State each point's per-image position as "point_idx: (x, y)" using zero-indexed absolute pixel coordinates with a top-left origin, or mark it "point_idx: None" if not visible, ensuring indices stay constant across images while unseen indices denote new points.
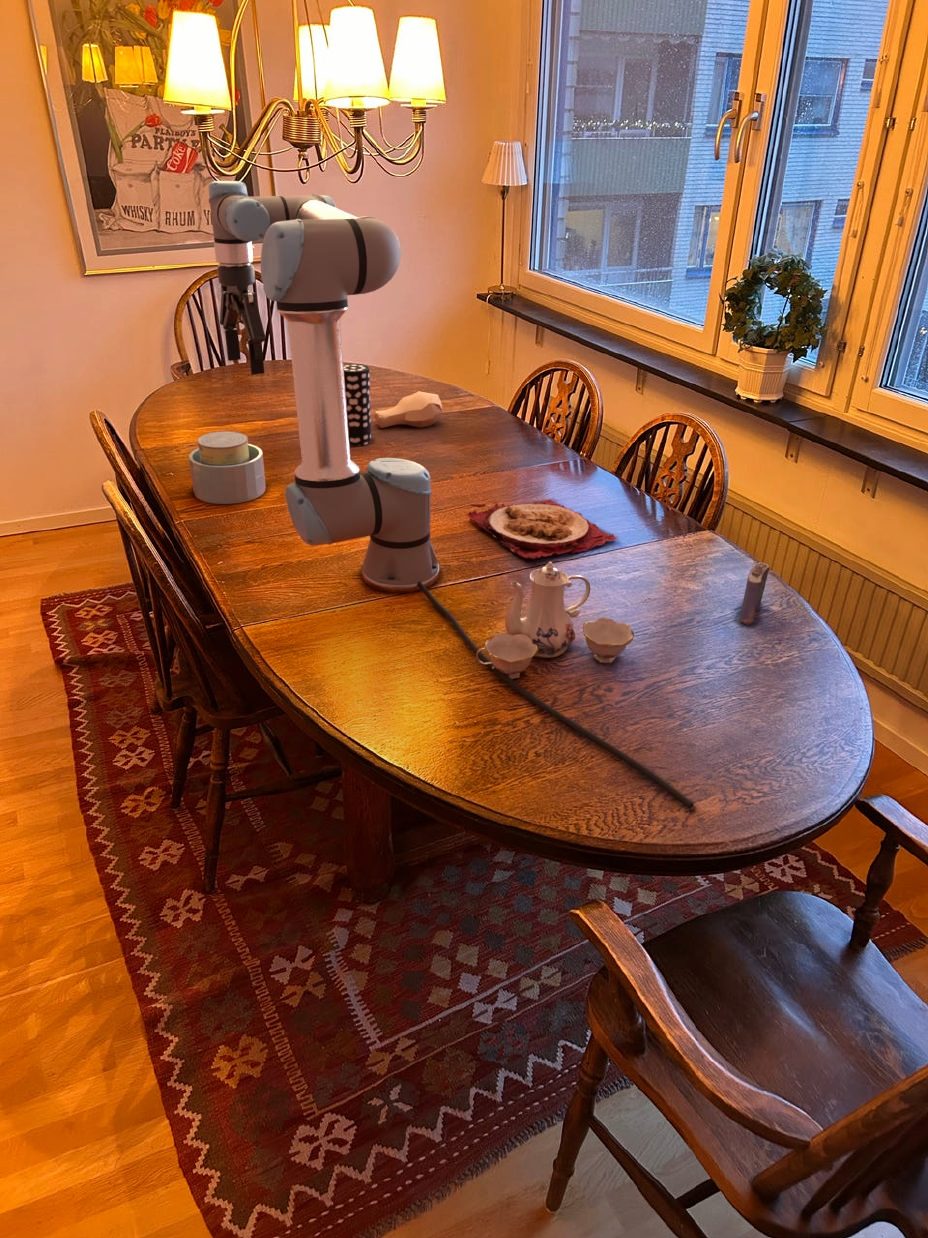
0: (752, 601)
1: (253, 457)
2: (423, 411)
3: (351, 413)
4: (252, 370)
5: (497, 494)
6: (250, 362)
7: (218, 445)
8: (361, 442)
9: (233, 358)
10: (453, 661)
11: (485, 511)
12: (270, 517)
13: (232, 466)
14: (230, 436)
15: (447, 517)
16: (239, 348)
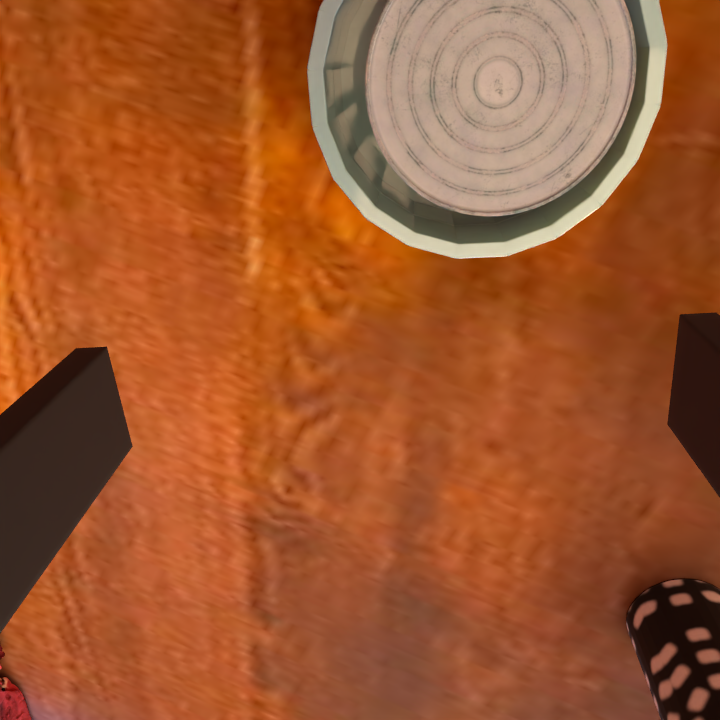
0: None
1: (513, 223)
2: None
3: (681, 687)
4: (58, 367)
5: (121, 713)
6: (43, 395)
7: (411, 30)
8: (629, 621)
9: (681, 365)
10: None
11: (1, 648)
12: (161, 141)
13: (308, 66)
14: (520, 136)
15: None
16: (711, 483)
